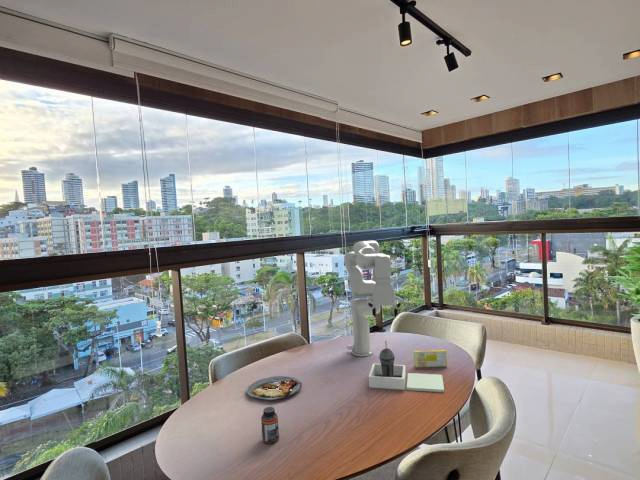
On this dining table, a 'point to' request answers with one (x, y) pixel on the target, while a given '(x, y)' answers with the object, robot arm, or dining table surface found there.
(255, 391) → the food plate
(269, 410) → the supplement bottle
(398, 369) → the bin
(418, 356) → the candy box
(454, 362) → the dining table surface
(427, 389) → the pad
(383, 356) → the beverage cup
